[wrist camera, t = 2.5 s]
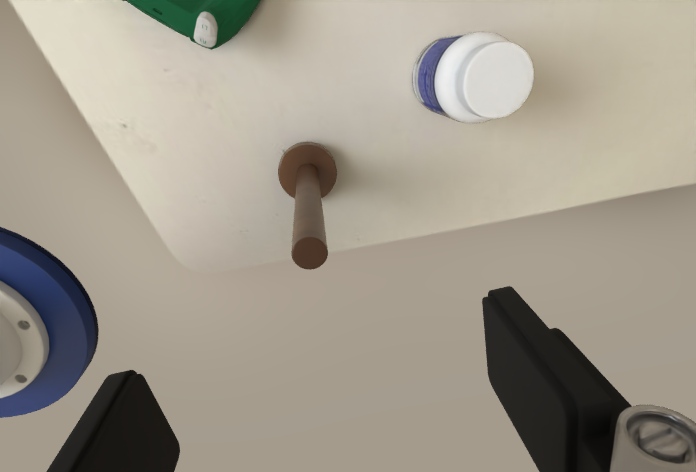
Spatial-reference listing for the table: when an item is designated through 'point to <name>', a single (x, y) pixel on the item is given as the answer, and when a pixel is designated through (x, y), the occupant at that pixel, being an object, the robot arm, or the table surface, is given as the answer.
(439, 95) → the pill bottle
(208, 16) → the gaming controller
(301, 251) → the stick
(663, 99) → the table surface
